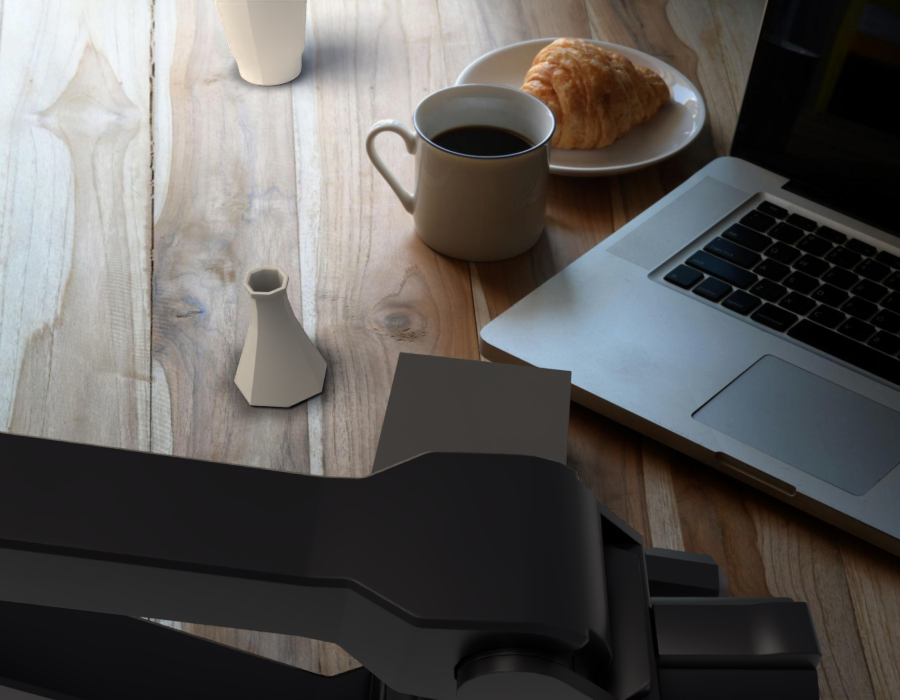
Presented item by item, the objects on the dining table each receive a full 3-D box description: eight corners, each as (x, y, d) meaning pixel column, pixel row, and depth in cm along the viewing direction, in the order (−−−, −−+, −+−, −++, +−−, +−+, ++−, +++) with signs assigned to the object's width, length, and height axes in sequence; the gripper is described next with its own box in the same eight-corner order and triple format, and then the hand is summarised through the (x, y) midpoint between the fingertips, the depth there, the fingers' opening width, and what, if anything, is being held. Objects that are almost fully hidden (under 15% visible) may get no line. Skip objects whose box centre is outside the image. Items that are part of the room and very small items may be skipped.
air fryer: (549, 591, 60) (563, 516, 54) (372, 568, 61) (366, 492, 55) (558, 450, 68) (571, 370, 62) (401, 431, 69) (399, 351, 63)
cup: (332, 47, 108) (322, -96, 97) (311, 101, 100) (297, -48, 89) (232, 40, 109) (210, -103, 98) (203, 93, 101) (175, -56, 89)
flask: (240, 418, 70) (219, 323, 62) (229, 351, 74) (208, 254, 67) (335, 400, 71) (326, 305, 64) (319, 335, 76) (308, 239, 69)
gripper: (268, 805, 38) (342, 666, 54) (726, 884, 37) (666, 718, 52) (301, 539, 38) (366, 476, 53) (766, 609, 36) (694, 524, 52)
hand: (520, 553), depth 53 cm, fingers closed, pressing on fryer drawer
